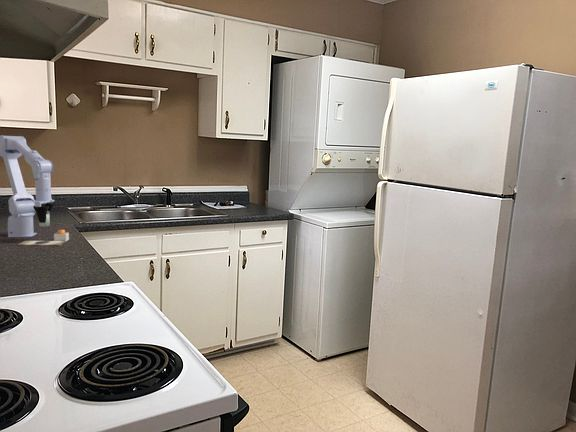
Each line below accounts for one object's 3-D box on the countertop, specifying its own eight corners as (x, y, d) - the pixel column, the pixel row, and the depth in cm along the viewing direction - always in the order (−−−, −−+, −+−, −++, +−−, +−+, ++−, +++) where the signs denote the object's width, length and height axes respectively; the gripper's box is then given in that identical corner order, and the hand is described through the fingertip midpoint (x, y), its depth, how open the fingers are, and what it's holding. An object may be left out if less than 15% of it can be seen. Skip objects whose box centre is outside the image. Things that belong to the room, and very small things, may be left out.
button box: (54, 241, 201) (53, 234, 201) (57, 239, 206) (57, 232, 206) (65, 241, 202) (65, 234, 202) (68, 239, 207) (68, 232, 206)
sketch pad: (17, 245, 192) (17, 244, 191) (25, 241, 199) (24, 240, 199) (60, 245, 194) (60, 244, 194) (66, 241, 202) (65, 240, 202)
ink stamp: (37, 226, 200) (37, 212, 199) (41, 224, 204) (40, 210, 203) (48, 226, 200) (47, 212, 199) (51, 224, 204) (50, 210, 203)
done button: (56, 237, 202) (56, 230, 202) (59, 236, 205) (58, 229, 205) (64, 237, 203) (63, 230, 202) (66, 236, 205) (65, 229, 205)
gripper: (47, 191, 193) (48, 224, 195) (58, 187, 207) (59, 219, 209) (28, 190, 192) (30, 224, 194) (41, 187, 206) (42, 218, 208)
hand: (44, 221), depth 202 cm, fingers closed on ink stamp, 4 cm apart
